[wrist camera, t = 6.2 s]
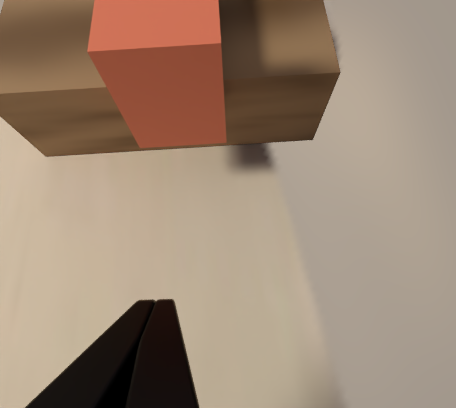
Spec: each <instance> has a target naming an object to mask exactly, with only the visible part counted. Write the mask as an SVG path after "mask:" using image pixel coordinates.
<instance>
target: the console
mask: <svg viewBox="0 0 456 408" xmlns="http://www.w3.org/2000/svg"><path fill="white" fill-rule="evenodd" d="M94 1H95V0H4V4H3V7H2V10H1V14H0V117H2V118H3V119H4V120H5V121H6V122H7V123H8V124H10V125H11V126H12V127H13V128H14V129H15V130H16V131H17V132H19V133H20V134H21V135H22V136H23V137H24V138H25V139H27V140H28V141H29V142H30V143H31V144H32V145H33V146H34V147H36V148H37V149H38V150H39V151H40V152H41V153H42V154H44V155H45V156H61V155H77V154H93V153H109V152H125V151H141V150H157V149H173V148H189V147H205V146H221V145H237V144H253V143H269V142H286V141H300V140H301V141H302V140H313V138H314V135H315V133H316V131H317V128H318V126H319V123H320V121H321V118H322V116H323V113H324V111H325V109H326V106H327V104H328V101H329V99H330V96H331V94H332V91H333V89H334V87H335V84H336V82H337V79H338V77H339V75H340V69H339V64H338V60H337V56H336V52H335V48H334V44H333V39H332V35H331V31H330V27H329V23H328V18H327V14H326V10H325V6H324V2H323V0H218V2H219V18H220V33H221V49H222V68H223V86H224V104H225V122H226V140H227V143H217V144H201V145H185V146H169V147H152V148H140V147H139V145H138V144H137V142H136V140H135V138H134V136H133V134H132V133H131V131H130V129H129V127H128V125H127V124H126V122H125V120H124V118H123V116H122V114H121V113H120V111H119V109H118V107H117V105H116V103H115V102H114V100H113V98H112V96H111V94H110V92H109V91H108V89H107V87H106V85H105V83H104V81H103V80H102V78H101V76H100V74H99V72H98V70H97V69H96V67H95V65H94V63H93V61H92V60H91V58H90V56H89V54H88V52H87V50H88V43H89V36H90V29H91V22H92V15H93V8H94Z"/></svg>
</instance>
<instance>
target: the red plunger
mask: <svg viewBox="0 0 456 408" xmlns="http://www.w3.org/2000/svg"><path fill="white" fill-rule="evenodd" d="M87 52H88V54H89V56H90V58H91V60H92V61H93V63H94V65H95V67H96V69H97V70H98V72H99V74H100V76H101V78H102V80H103V81H104V83H105V85H106V87H107V89H108V91H109V92H110V94H111V96H112V98H113V100H114V102H115V103H116V105H117V107H118V109H119V111H120V113H121V114H122V116H123V118H124V120H125V122H126V124H127V125H128V127H129V129H130V131H131V133H132V134H133V136H134V138H135V140H136V142H137V144H138V145H139V147H140V148H152V147H169V146H185V145H201V144H217V143H227V140H226V122H225V104H224V86H223V68H222V49H221V33H220V18H219V2H218V0H95V1H94V8H93V15H92V22H91V29H90V36H89V43H88V50H87Z"/></svg>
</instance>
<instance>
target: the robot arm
mask: <svg viewBox="0 0 456 408" xmlns="http://www.w3.org/2000/svg"><path fill="white" fill-rule="evenodd" d="M25 408H199V404H198V399H197V395H196V391H195V387H194V382H193V378H192V374H191V370H190V365H189V361H188V357H187V353H186V348H185V344H184V340H183V336H182V331H181V327H180V323H179V319H178V314H177V310H176V306H175V302H174V300H173V299H159V300H157V301H155V300H139V301H137V302H136V303H135V304H133V305H132V306H131V307H130V308H129V309H128V310H127V311H126V312H125V313H124V314H123V315H122V316H121V317H120V318H119V319H118V320H117V321H116V322H115V323H113V324H112V325H111V326H110V327H109V328H108V329H107V330H106V331H105V332H104V333H103V334H102V335H101V336H100V337H99V338H98V339H97V340H96V341H95V342H93V343H92V344H91V345H90V346H89V347H88V348H87V349H86V350H85V351H84V352H83V353H82V354H81V355H80V356H79V357H78V358H77V359H76V360H74V361H73V362H72V363H71V364H70V365H69V366H68V367H67V368H66V369H65V370H64V371H63V372H62V373H61V374H60V375H59V376H58V377H57V378H56V379H54V380H53V381H52V382H51V383H50V384H49V385H48V386H47V387H46V388H45V389H44V390H43V391H42V392H41V393H40V394H39V395H38V396H37V397H36V398H34V399H33V400H32V401H31V402H30V403H29V404H28V405H27V406H26V407H25Z"/></svg>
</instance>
